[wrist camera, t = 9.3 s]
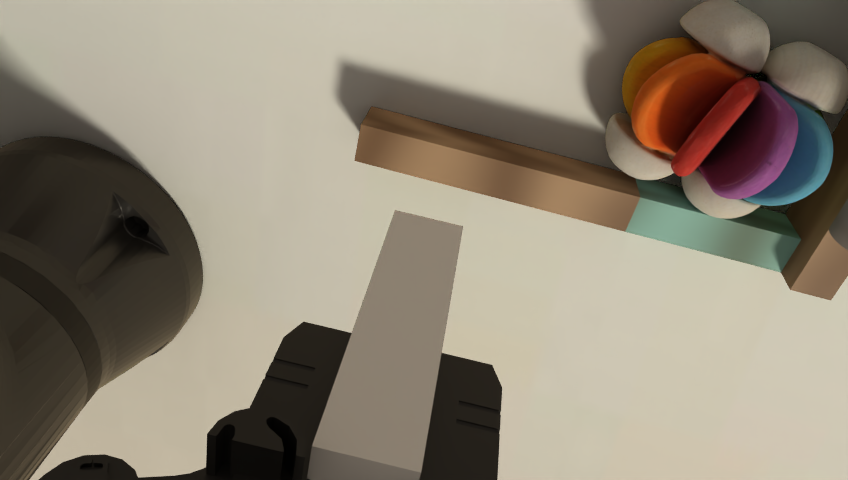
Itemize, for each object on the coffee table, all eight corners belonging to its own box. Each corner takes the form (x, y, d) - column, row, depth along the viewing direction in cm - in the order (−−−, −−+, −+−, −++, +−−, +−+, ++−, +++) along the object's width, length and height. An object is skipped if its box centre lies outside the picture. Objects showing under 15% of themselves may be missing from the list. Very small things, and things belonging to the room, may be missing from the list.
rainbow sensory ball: (680, -33, 30) (716, 4, 24) (862, 68, 31) (940, 129, 25) (576, 127, 34) (584, 193, 28) (738, 210, 36) (780, 291, 29)
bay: (365, 141, 36) (327, 209, 30) (429, -211, 28) (396, -222, 21) (818, 259, 36) (878, 354, 30) (1023, -59, 28) (1171, -24, 21)
